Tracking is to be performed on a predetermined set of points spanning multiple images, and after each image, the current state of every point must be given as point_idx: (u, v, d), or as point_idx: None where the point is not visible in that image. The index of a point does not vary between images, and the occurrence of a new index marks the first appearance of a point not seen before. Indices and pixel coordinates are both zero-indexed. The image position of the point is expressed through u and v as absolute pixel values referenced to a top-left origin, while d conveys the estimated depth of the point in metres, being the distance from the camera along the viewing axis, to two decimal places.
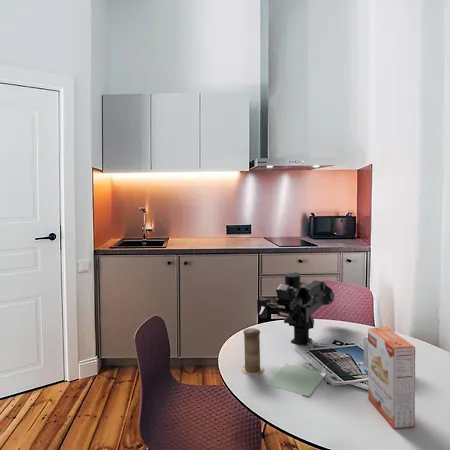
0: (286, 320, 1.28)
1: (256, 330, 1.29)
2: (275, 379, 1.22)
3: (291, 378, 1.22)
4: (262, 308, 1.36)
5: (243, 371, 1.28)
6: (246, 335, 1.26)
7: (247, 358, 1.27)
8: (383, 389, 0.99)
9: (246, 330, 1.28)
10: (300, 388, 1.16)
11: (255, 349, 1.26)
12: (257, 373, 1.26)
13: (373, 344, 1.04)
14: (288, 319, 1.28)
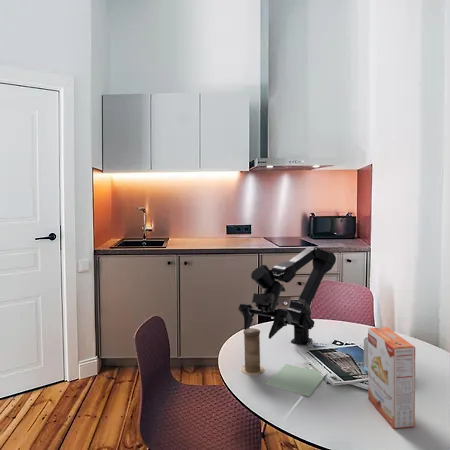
0: (270, 336, 1.29)
1: (256, 330, 1.29)
2: (275, 379, 1.22)
3: (291, 378, 1.22)
4: (245, 320, 1.36)
5: (243, 371, 1.28)
6: (246, 335, 1.26)
7: (247, 358, 1.27)
8: (383, 389, 0.99)
9: (246, 330, 1.28)
10: (300, 388, 1.16)
11: (255, 349, 1.26)
12: (257, 373, 1.26)
13: (373, 344, 1.04)
14: (272, 333, 1.29)
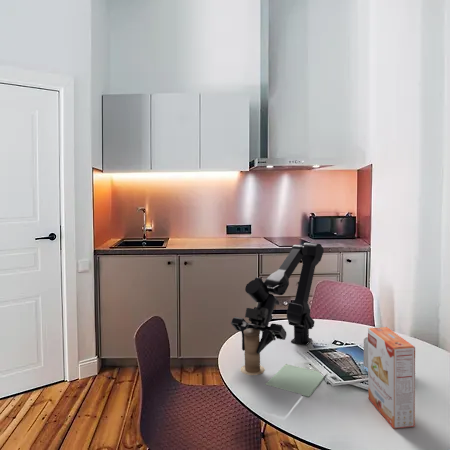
0: (259, 351, 1.26)
1: (256, 330, 1.29)
2: (275, 379, 1.22)
3: (291, 378, 1.22)
4: (243, 336, 1.30)
5: (243, 371, 1.28)
6: (246, 335, 1.26)
7: (247, 358, 1.27)
8: (383, 389, 0.99)
9: (246, 330, 1.28)
10: (300, 388, 1.16)
11: (255, 349, 1.26)
12: (257, 373, 1.26)
13: (373, 344, 1.04)
14: (260, 348, 1.26)
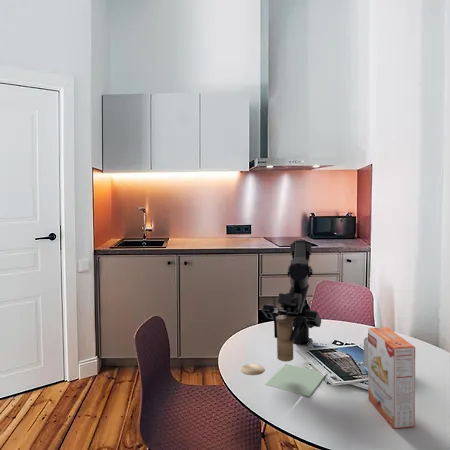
0: (292, 338, 1.20)
1: (289, 316, 1.23)
2: (275, 379, 1.22)
3: (291, 378, 1.22)
4: (275, 323, 1.24)
5: (243, 371, 1.28)
6: (279, 322, 1.20)
7: (280, 346, 1.21)
8: (383, 389, 0.99)
9: (279, 317, 1.22)
10: (300, 388, 1.16)
11: (288, 336, 1.20)
12: (257, 373, 1.26)
13: (373, 344, 1.04)
14: (294, 335, 1.20)
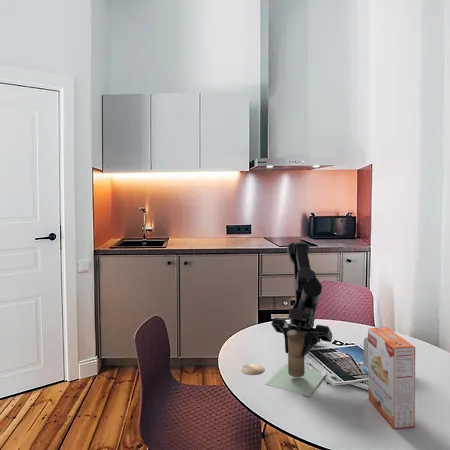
0: (304, 354, 1.19)
1: (300, 331, 1.21)
2: (275, 379, 1.22)
3: (291, 378, 1.22)
4: (286, 338, 1.23)
5: (243, 371, 1.28)
6: (290, 337, 1.19)
7: (291, 362, 1.20)
8: (383, 389, 0.99)
9: (290, 332, 1.21)
10: (300, 388, 1.16)
11: (300, 352, 1.19)
12: (257, 373, 1.26)
13: (373, 344, 1.04)
14: (306, 351, 1.19)
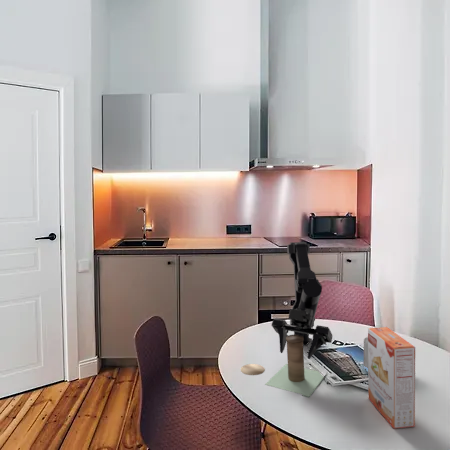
0: (310, 356, 1.18)
1: (299, 336, 1.22)
2: (275, 379, 1.22)
3: None
4: (280, 338, 1.24)
5: (243, 371, 1.28)
6: (289, 342, 1.19)
7: (291, 367, 1.20)
8: (383, 389, 0.99)
9: (289, 337, 1.21)
10: (300, 388, 1.16)
11: (299, 356, 1.19)
12: (257, 373, 1.26)
13: (373, 344, 1.04)
14: (311, 353, 1.18)
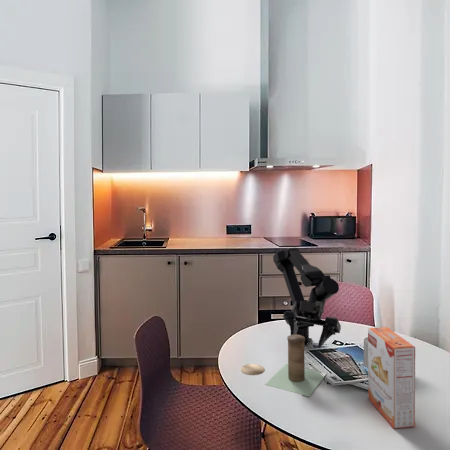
0: (320, 345, 1.25)
1: (301, 336, 1.22)
2: (275, 379, 1.22)
3: None
4: (291, 329, 1.32)
5: (243, 371, 1.28)
6: (291, 342, 1.19)
7: (291, 367, 1.20)
8: (383, 389, 0.99)
9: (290, 337, 1.21)
10: (300, 388, 1.16)
11: (300, 356, 1.19)
12: (257, 373, 1.26)
13: (373, 344, 1.04)
14: (321, 342, 1.26)
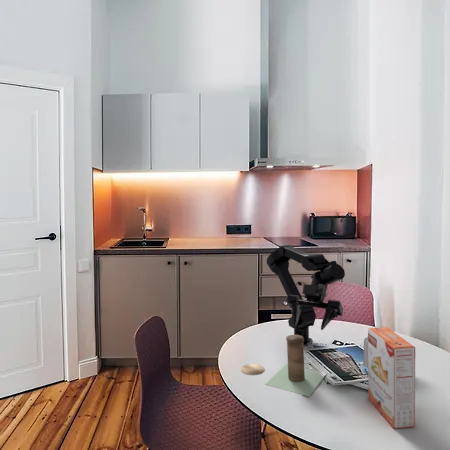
0: (323, 327, 1.27)
1: (300, 336, 1.22)
2: (275, 379, 1.22)
3: None
4: (294, 312, 1.34)
5: (243, 371, 1.28)
6: (289, 342, 1.19)
7: (291, 367, 1.20)
8: (383, 389, 0.99)
9: (289, 337, 1.21)
10: (300, 388, 1.16)
11: (299, 357, 1.19)
12: (257, 373, 1.26)
13: (373, 344, 1.04)
14: (324, 324, 1.28)
